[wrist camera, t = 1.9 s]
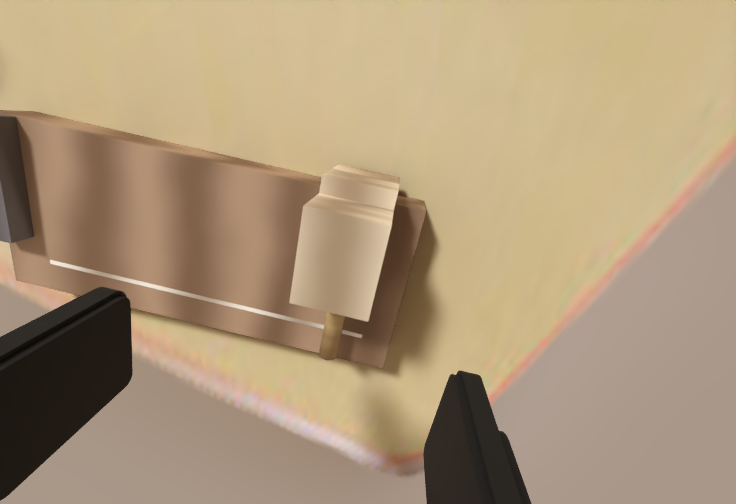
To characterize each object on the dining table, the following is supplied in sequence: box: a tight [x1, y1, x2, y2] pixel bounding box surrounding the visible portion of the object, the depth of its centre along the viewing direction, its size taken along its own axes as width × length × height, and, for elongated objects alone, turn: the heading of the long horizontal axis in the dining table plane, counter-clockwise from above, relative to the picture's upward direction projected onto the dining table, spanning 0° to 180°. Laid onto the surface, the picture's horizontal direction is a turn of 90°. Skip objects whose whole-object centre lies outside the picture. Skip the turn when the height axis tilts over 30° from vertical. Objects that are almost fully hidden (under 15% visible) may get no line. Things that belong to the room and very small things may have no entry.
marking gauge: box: [289, 164, 400, 360], centre depth 21 cm, size 4×12×8 cm, turn 168°
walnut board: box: [0, 110, 426, 369], centre depth 24 cm, size 28×12×4 cm, turn 78°
